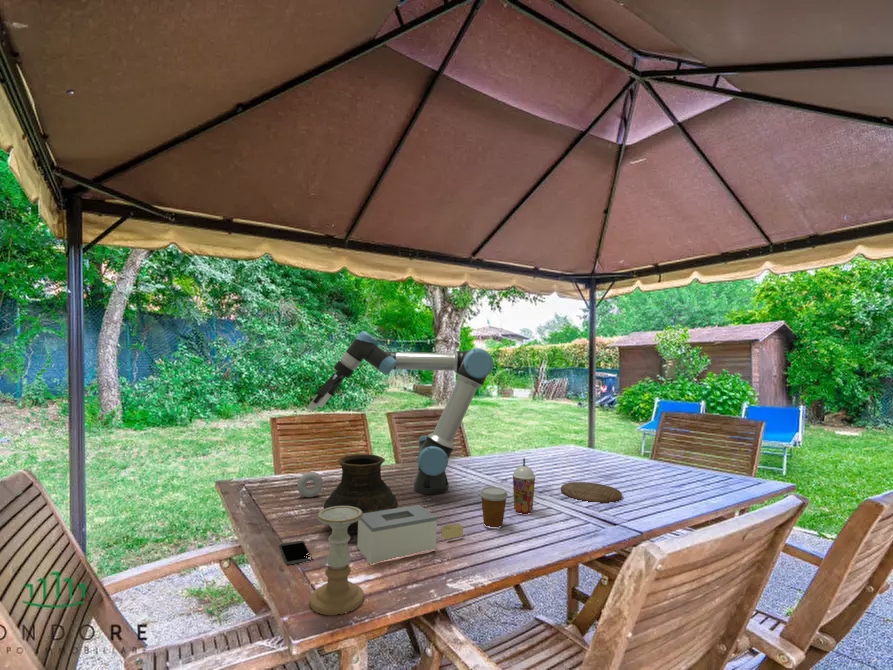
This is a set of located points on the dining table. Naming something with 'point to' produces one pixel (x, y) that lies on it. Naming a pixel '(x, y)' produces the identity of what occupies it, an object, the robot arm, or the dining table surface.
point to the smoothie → (523, 489)
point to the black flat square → (294, 552)
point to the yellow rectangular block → (452, 531)
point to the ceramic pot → (362, 486)
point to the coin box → (396, 533)
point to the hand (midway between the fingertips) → (314, 407)
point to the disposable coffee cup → (493, 505)
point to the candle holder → (338, 565)
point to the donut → (305, 478)
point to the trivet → (591, 492)
